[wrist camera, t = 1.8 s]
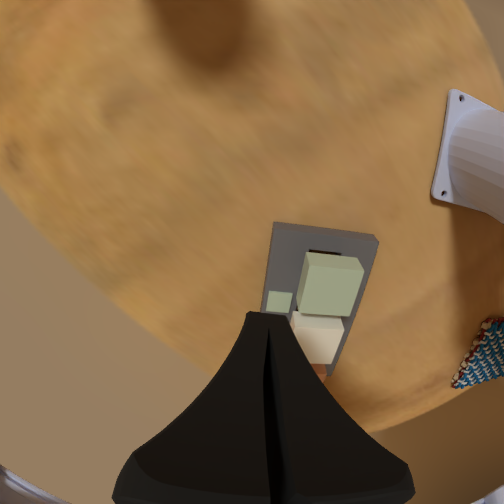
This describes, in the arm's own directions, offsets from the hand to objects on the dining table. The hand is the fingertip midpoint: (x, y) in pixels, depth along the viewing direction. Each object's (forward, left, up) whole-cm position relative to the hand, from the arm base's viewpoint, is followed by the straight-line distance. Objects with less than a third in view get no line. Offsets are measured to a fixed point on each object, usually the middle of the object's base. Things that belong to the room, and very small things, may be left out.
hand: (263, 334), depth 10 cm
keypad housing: (-4, +6, -10) cm, 13 cm away
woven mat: (-29, +11, -11) cm, 33 cm away
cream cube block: (-4, +6, -9) cm, 12 cm away
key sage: (-4, +2, -9) cm, 10 cm away
